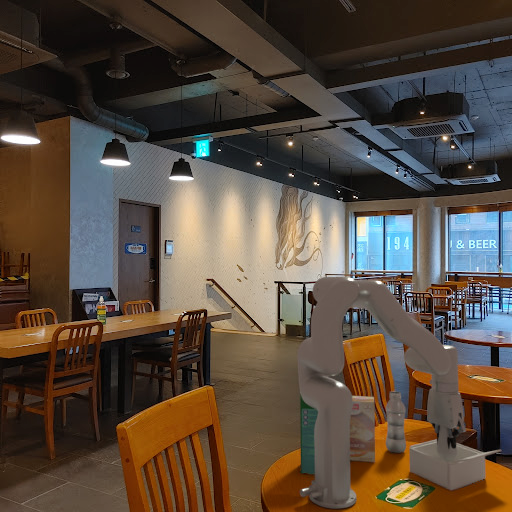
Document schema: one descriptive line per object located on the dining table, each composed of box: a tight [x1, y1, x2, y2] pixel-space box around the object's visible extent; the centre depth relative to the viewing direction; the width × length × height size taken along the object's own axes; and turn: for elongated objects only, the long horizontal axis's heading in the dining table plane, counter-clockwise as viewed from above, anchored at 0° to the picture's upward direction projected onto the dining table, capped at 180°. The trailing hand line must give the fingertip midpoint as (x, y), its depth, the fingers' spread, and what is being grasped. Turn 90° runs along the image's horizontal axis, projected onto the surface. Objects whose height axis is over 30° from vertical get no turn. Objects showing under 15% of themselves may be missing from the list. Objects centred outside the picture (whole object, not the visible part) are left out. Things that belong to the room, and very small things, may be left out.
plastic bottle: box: [385, 390, 407, 454], centre depth 162 cm, size 6×7×20 cm
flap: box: [453, 449, 502, 463], centre depth 133 cm, size 13×6×1 cm, turn 119°
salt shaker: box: [437, 425, 457, 461], centre depth 143 cm, size 6×6×13 cm
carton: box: [409, 438, 486, 492], centre depth 142 cm, size 16×16×7 cm
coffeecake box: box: [350, 395, 376, 463], centre depth 157 cm, size 15×7×20 cm, turn 77°
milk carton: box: [299, 392, 318, 475], centre depth 148 cm, size 9×9×25 cm
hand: (446, 447), depth 142 cm, fingers closed on salt shaker, 3 cm apart
